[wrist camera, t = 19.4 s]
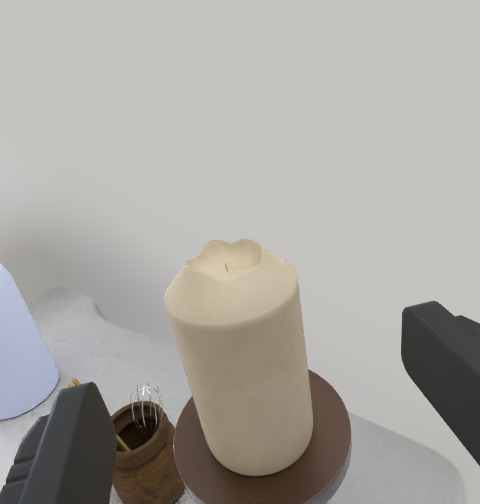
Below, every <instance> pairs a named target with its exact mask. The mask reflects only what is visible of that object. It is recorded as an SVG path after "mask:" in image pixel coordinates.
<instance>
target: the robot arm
mask: <svg viewBox="0 0 480 504" xmlns="http://www.w3.org/2000/svg"><path fill="white" fill-rule="evenodd" d="M401 341H402V342H401V356H402V361H403V364H404V366H405V369H406V371H407V373H408V375H409V376H410V378H411V379H412V380H413V382H414V383H415V384H416V385H417V387H418V388H419V389H420V390H421V392H422V393H423V394H424V396H425V397H426V398H427V399H428V400H429V402H430V403H431V404H432V406H433V407H434V408H435V409H436V411H437V412H438V413H439V414H440V416H441V417H442V418H443V420H444V421H445V422H446V423H447V425H448V426H449V427H450V429H451V430H452V431H453V432H454V434H455V435H456V436H457V438H458V439H459V440H460V441H461V443H462V444H463V445H464V446H465V448H466V449H467V450H468V452H469V453H470V454H471V455H472V456H473V458H474V459H475V460H476V462H477V463H478V464H479V465H480V324H479V323H477V322H475V321H473V320H470V319H468V318H466V317H464V316H462V315H460V316H456V317H455V316H454V315H452V314H451V313H450V312H449V311H448V310H446V309H445V308H444V307H443V306H442V305H441V304H439V303H438V302H436V301H431V302H427V303H422V304H418V305H414V306H410V307H406V308H405V309H404V310H403V313H402V340H401ZM116 452H117V436H116V430H115V426H114V423H113V421H112V419H111V416H110V414H109V412H108V410H107V408H106V405H105V403H104V401H103V399H102V396H101V394H100V392H99V390H98V388H97V386H96V384H95V383H93V382H90V383H85V384H81V385H77V386H73V387H69V388H65V389H61V390H60V391H59V392H58V393H57V396H56V398H55V401H54V404H53V407H52V410H51V412H50V415H47V416H43V417H39V419H38V420H37V421H36V422H35V424H34V425H33V426H32V427H31V429H30V430H29V431H28V433H27V434H26V435H25V436H24V438H23V439H22V442H21V444H20V447H19V449H18V452H17V454H16V456H15V459H14V465H12V466H11V469H10V471H9V474H8V476H7V478H6V485H4V486H3V488H2V491H1V493H0V504H109V499H110V493H111V486H112V479H113V472H114V465H115V459H116Z"/></svg>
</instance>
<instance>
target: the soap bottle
mask: <svg viewBox="0 0 480 504" xmlns="http://www.w3.org/2000/svg"><path fill="white" fill-rule="evenodd" d="M58 379H59V372H58V367H57V365H56V363H55V361H54V359H53V357H52V355H51V354H50V352H49V350H48V348H47V346H46V344H45V342H44V340H43V338H42V336H41V334H40V332H39V330H38V328H37V326H36V324H35V322H34V320H33V318H32V316H31V314H30V312H29V310H28V308H27V306H26V304H25V302H24V300H23V298H22V296H21V294H20V292H19V290H18V288H17V286H16V284H15V282H14V280H13V278H12V276H11V274H10V273H9V272H8V271H7V270H6V269H5V268H4V267H3V265H2V264H0V420H4V419H8V418H13V417H17V416H19V415H21V414H23V413H25V412H27V411H29V410H31V409H33V408H34V407H35V406H37V405H38V404H39V403H41V402H42V401H43V400H45V399H46V398H47V397H48V396H49V394H50V393H51V392H52V391H53V390H54V388H55V387H56V384H57V382H58Z"/></svg>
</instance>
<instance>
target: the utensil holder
mask: <svg viewBox="0 0 480 504" xmlns="http://www.w3.org/2000/svg"><path fill="white" fill-rule="evenodd" d="M72 382H73V383H74V384H75V385H76V386H77V385H81V384H80V383H79V382H78V381H77V380H76V379H75V378H72ZM146 383H148V382H146ZM138 385H142V384H138ZM145 385H146V384H145ZM150 385H155V384H150ZM142 386H143V385H142ZM147 386H149V383H148V385H147ZM155 386H157V385H155ZM69 387H73V385H72V384H69ZM139 388H142V389H143V388H144V389H146V388H149V391H148V390H147V389H146V390H147V391H148V392H149V394H150V387H146V386H143V387H139ZM157 388H158V386H157ZM136 389H137V394H138V393H139V392H140V391H141V390H142V389H141V390H140V391H139V392H138V386H137V388H136ZM136 389H135V390H136ZM151 389H153V388H151ZM154 390H155V389H154ZM133 391H134V390H133ZM133 391H132V393H133ZM155 391H157V390H155ZM158 391H159V388H158ZM158 391H157V392H158ZM132 393H131V394H132ZM158 393H159V392H158ZM137 394H136V395H137ZM143 394H144V391H143ZM150 396H151V394H150ZM135 397H136V396H135ZM160 397H161V395H160V393H159V398H160ZM151 398H152V396H151V397H150V401H143V398H142V401H139V397H138V401H139V402H135V403H131V404H129V405H127V406H125V407H123V408H121V409H120V410H118V411H117V412H116V413H115V414H113V415H112V416H111V419H112V421H113V423H114V426H115V430H116V436H117V452H116V459H115V465H114V472H113V479H112V484H113V486H114V488H115V490H116V491H117V493H118V495H119V497H120V499H121V501H122V502H123V504H173V503H175V501H176V500H177V499H178V498H179V497H180V495H181V494H182V492H183V490H184V488H185V486H184V484H183V482H182V479H181V477H180V474H179V471H178V469H177V465H176V461H175V457H174V434H175V430H176V429H175V428H174V426H173V425H172V423H171V422H170V421H169V420H168V417H167V415H166V414H165V412H164V411H163V404H162V408H161V407H160V406H159V405H157V404H156V403H154V401H153V402H151ZM134 399H135V398H134ZM152 400H153V398H152ZM161 401H162V398H161ZM130 402H131V395H130ZM133 402H134V400H133Z"/></svg>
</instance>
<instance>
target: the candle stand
mask: <svg viewBox="0 0 480 504" xmlns="http://www.w3.org/2000/svg"><path fill="white" fill-rule="evenodd" d="M308 374H309V383H310V392H311V401H312V412H313V431H312V436H311V439H310V442H309V444H308V446H307V448H306V450H305V451H304V453H303V454H302V455H301V457H299V458H298V459H297V460H296V461H295V462H294V463H293V464H291V465H290V466H289V467H287V468H285V469H283V470H281V471H279V472H276V473H273V474H269V475H263V476H248V475H242V474H239V473H236V472H234V471H231V470H229V469H228V468H226V467H224V466H223V465H222V464H221V463H220V462H219V461H218V460H217V459H216V458H215V456H214V455H213V453H212V452H211V450H210V448H209V446H208V444H207V441H206V438H205V435H204V432H203V429H202V426H201V422H200V419H199V416H198V412H197V409H196V406H195V403H194V399H193V396H192V397H191V398H190V399H189V401H188V402H187V404H186V405H185V407H184V409H183V411H182V413H181V415H180V417H179V420H178V422H177V425H176V430H175V434H174V457H175V461H176V465H177V469H178V471H179V474H180V477H181V479H182V482H183V484H184V486H185V489H186V490H187V492H188V493H189V495H190V497H191V498H192V499H193V500H194V502H195V503H196V504H326V502H327V501H328V500H330V499H331V497H332V496H333V495H334V493H335V492H336V491H337V489H338V488H339V486H340V485H341V483H342V481H343V479H344V477H345V475H346V472H347V469H348V467H349V462H350V457H351V445H352V443H351V427H350V420H349V416H348V412H347V410H346V407H345V405H344V403H343V401H342V399H341V398H340V396H339V395H338V393H337V392H336V391H335V389H334V388H333V387H332V386H331V385H330V384H329V383H328V382H327V381H326V380H324V379H323V378H322V377H320V376H319V375H317V374H316V373H314V372H312V371H310V370H308Z"/></svg>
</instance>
